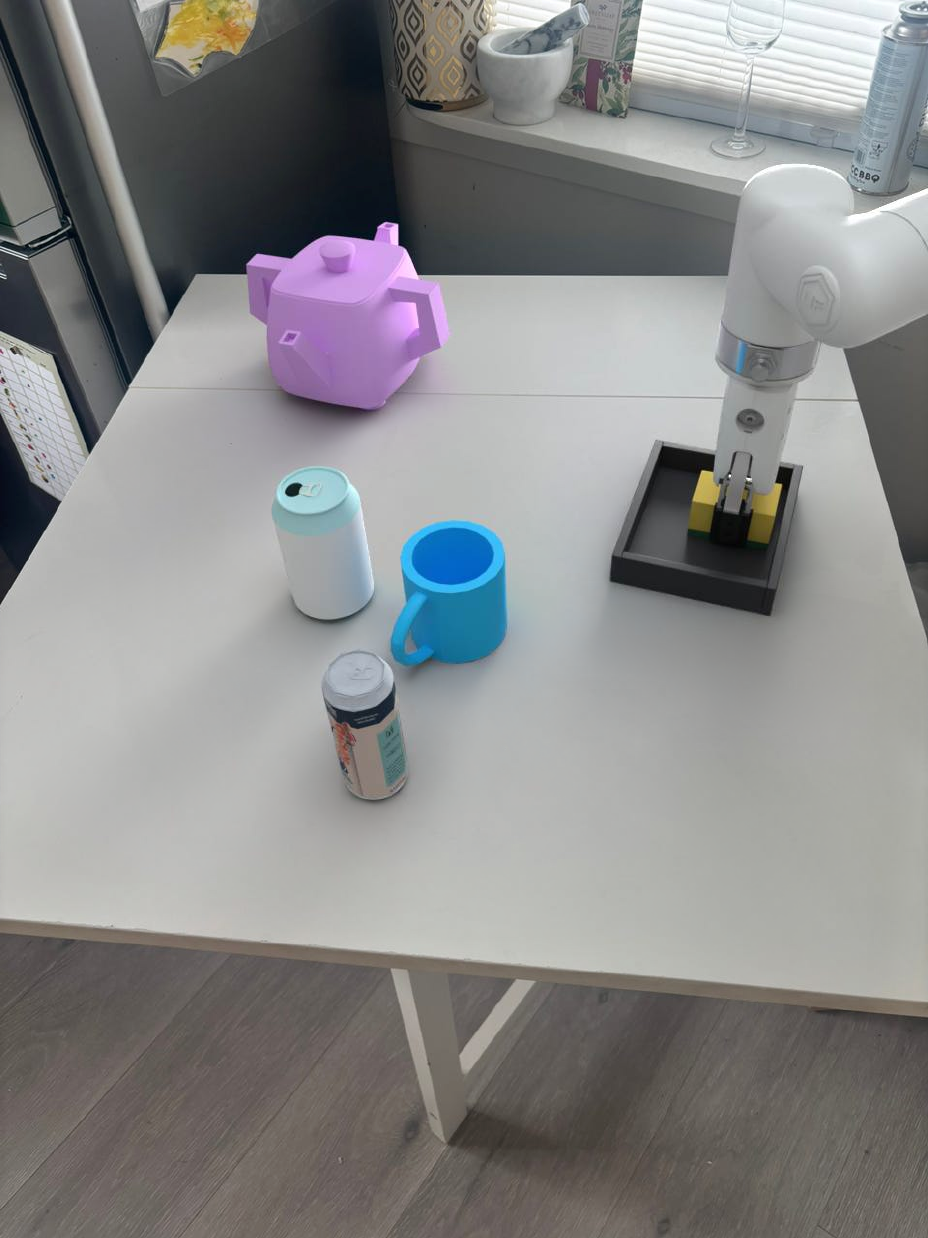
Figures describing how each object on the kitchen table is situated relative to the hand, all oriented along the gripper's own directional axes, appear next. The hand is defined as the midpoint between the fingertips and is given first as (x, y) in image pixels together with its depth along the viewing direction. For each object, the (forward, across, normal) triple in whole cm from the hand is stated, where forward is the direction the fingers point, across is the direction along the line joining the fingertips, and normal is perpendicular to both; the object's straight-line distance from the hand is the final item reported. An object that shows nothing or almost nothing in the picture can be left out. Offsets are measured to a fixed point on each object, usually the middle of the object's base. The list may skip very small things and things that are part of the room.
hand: (732, 521), depth 88 cm
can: (+1, -18, +31) cm, 36 cm away
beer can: (+1, -34, +20) cm, 39 cm away
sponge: (+1, 0, 0) cm, 1 cm away
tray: (+1, -1, +2) cm, 3 cm away
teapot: (+1, +13, +43) cm, 45 cm away
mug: (+1, -20, +20) cm, 28 cm away
